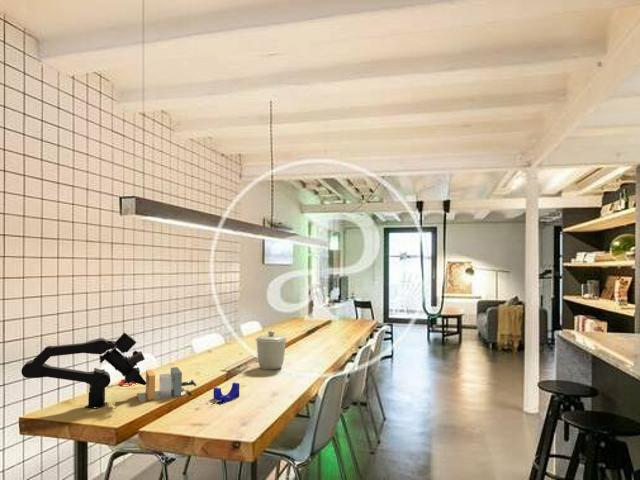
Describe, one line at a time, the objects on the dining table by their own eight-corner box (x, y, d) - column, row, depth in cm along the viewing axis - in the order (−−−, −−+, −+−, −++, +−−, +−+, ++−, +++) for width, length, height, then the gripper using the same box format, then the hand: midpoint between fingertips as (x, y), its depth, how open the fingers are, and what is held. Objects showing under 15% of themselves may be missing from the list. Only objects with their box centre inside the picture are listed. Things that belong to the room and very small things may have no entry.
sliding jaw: (148, 399, 187) (148, 376, 188) (145, 392, 198) (146, 370, 198) (154, 399, 188) (155, 375, 189) (151, 391, 199) (152, 369, 199)
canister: (249, 370, 248) (250, 332, 249) (262, 363, 265) (263, 327, 266) (279, 372, 243) (279, 333, 244) (291, 365, 260) (291, 329, 261)
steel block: (161, 396, 192) (161, 378, 192) (159, 392, 198) (159, 374, 198) (170, 395, 194) (171, 377, 194) (168, 391, 200) (169, 373, 200)
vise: (139, 405, 185) (140, 377, 186) (136, 396, 197) (137, 370, 197) (197, 397, 196) (197, 371, 196) (191, 390, 207) (192, 365, 208)
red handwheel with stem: (137, 386, 215) (137, 380, 224) (138, 359, 216) (138, 355, 224) (118, 388, 212) (119, 382, 221) (119, 361, 212) (119, 356, 221)
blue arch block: (220, 404, 188) (220, 389, 188) (213, 402, 190) (213, 388, 191) (241, 397, 197) (241, 384, 197) (234, 395, 200) (234, 382, 200)
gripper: (134, 350, 183) (162, 374, 187) (131, 342, 199) (157, 365, 204) (113, 371, 179) (142, 395, 183) (111, 362, 195) (138, 384, 200)
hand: (145, 384), depth 192 cm, fingers closed
